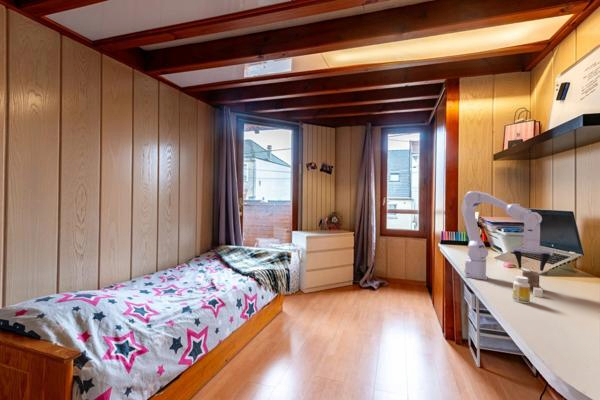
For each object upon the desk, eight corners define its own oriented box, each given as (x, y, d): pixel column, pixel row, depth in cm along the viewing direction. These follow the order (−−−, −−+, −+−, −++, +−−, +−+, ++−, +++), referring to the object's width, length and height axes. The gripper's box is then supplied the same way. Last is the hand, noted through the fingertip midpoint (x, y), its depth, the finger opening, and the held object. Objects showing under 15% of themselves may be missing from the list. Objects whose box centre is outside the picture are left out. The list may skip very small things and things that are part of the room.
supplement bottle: (509, 299, 114) (510, 276, 114) (517, 297, 116) (517, 274, 116) (525, 304, 109) (525, 280, 109) (532, 302, 111) (533, 278, 111)
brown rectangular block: (524, 287, 127) (524, 272, 126) (522, 284, 131) (522, 270, 131) (539, 289, 124) (539, 274, 124) (536, 286, 128) (537, 271, 128)
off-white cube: (534, 296, 118) (534, 289, 118) (533, 294, 120) (533, 287, 120) (542, 297, 117) (542, 290, 117) (541, 295, 119) (541, 288, 119)
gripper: (512, 238, 127) (511, 268, 128) (555, 242, 120) (554, 273, 120) (510, 236, 133) (509, 265, 134) (550, 239, 126) (549, 269, 126)
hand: (530, 269), depth 127 cm, fingers open, 7 cm apart
